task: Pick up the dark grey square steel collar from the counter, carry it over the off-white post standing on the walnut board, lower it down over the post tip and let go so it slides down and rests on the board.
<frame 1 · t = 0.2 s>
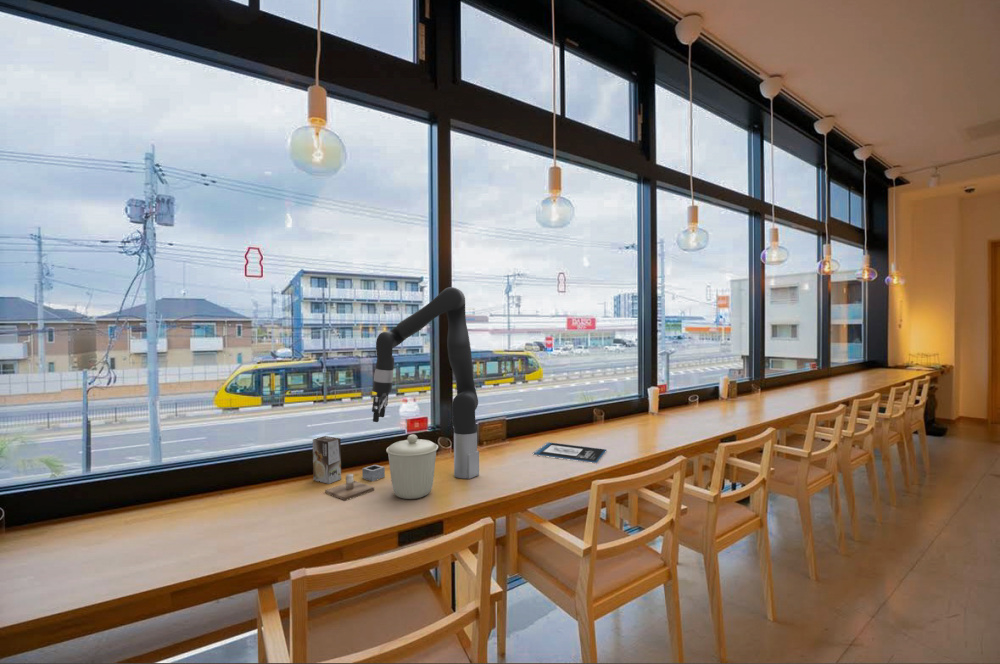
hand: (378, 419, 178), 22 cm above the table, tool pointing down, fingers open, 8 cm apart
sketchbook: (569, 454, 204), on the table
canister: (412, 494, 154), on the table
collar: (373, 477, 171), on the table
post stand: (349, 491, 156), on the table
coffee box: (327, 480, 169), on the table
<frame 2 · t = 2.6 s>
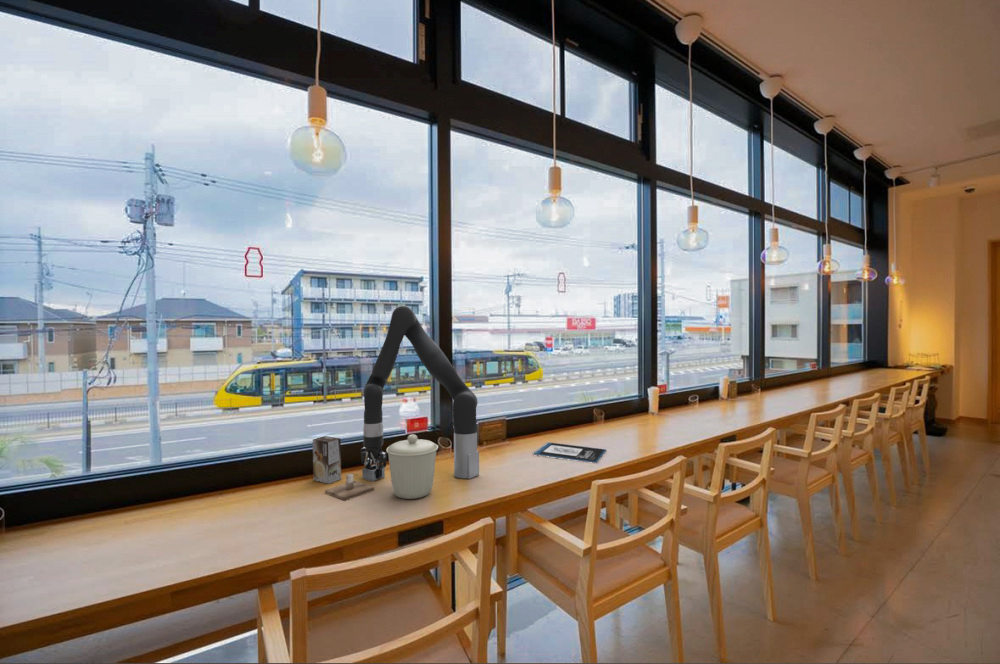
hand: (373, 476, 171), 1 cm above the table, tool pointing down, fingers closed on collar, 6 cm apart
collar: (373, 477, 171), on the table, touching gripper
everything else where it was.
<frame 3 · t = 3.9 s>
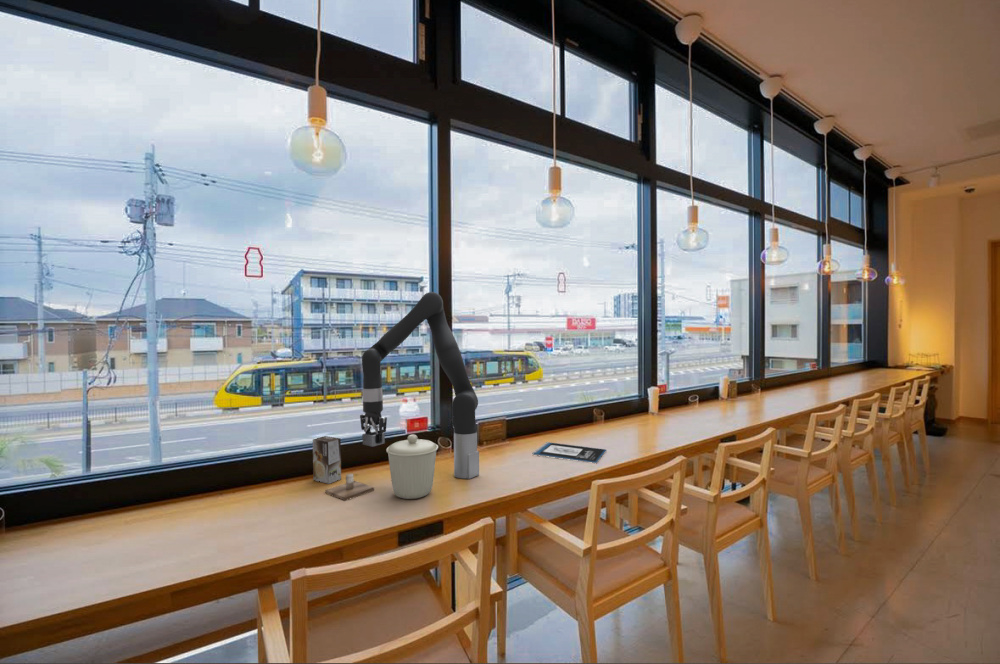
hand: (373, 442, 170), 14 cm above the table, tool pointing down, fingers closed on collar, 6 cm apart
collar: (373, 443, 170), point 14 cm above the table, touching gripper
everything else where it was.
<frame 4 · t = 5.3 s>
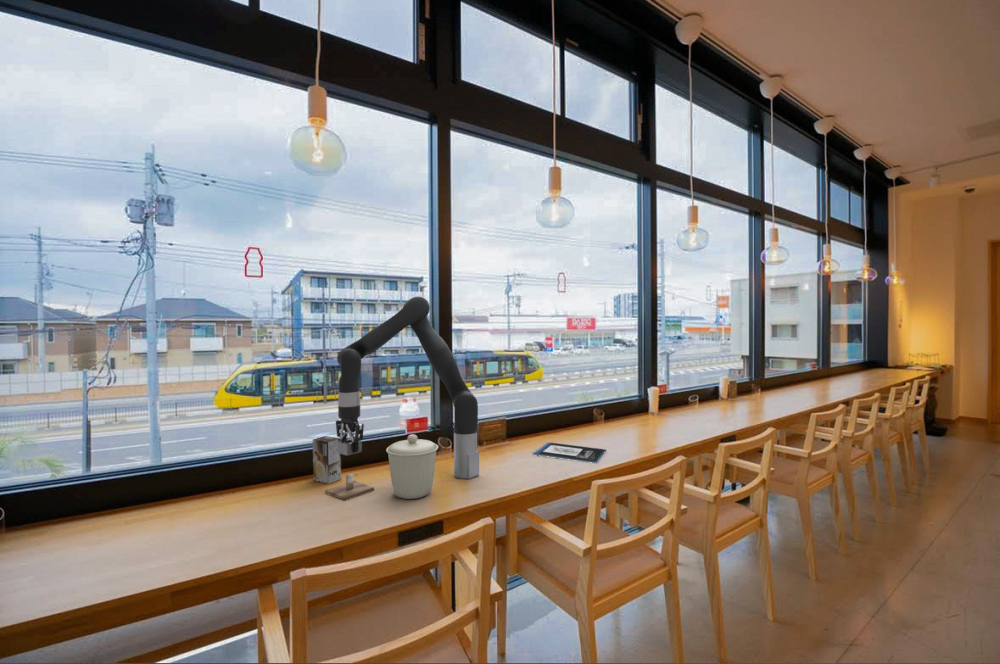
hand: (349, 450, 156), 15 cm above the table, tool pointing down, fingers closed on collar, 6 cm apart
collar: (349, 452, 156), point 14 cm above the table, touching gripper
everything else where it was.
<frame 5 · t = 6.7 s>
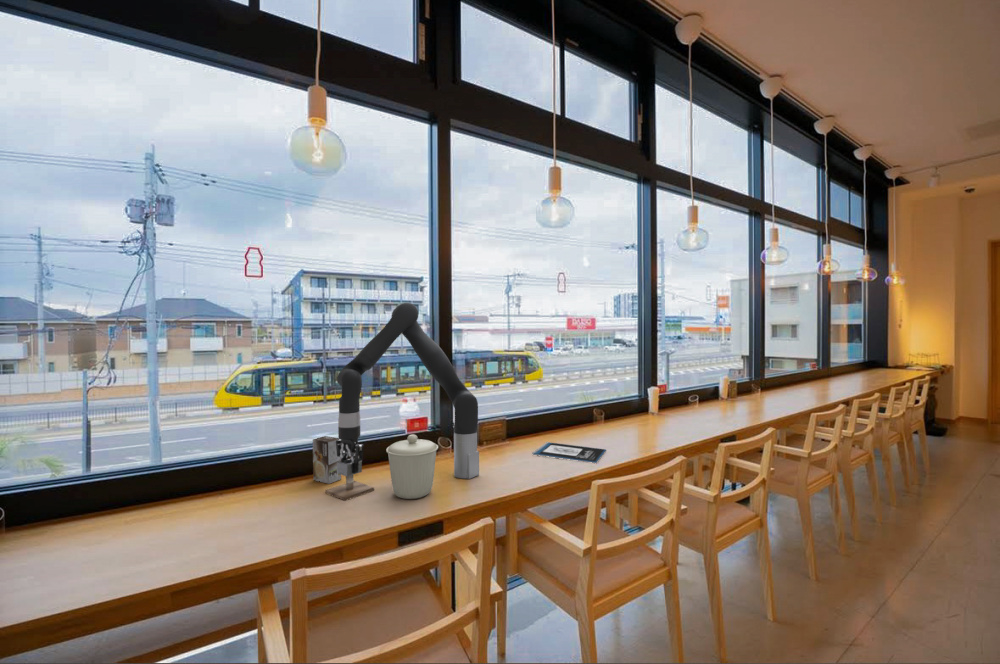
hand: (349, 470, 156), 7 cm above the table, tool pointing down, fingers closed on collar, 6 cm apart
collar: (349, 472, 156), point 7 cm above the table, touching gripper
everything else where it was.
when the fingers open (5 cm above the table, at t = 8.0 s): collar drops 3 cm, resting on post stand.
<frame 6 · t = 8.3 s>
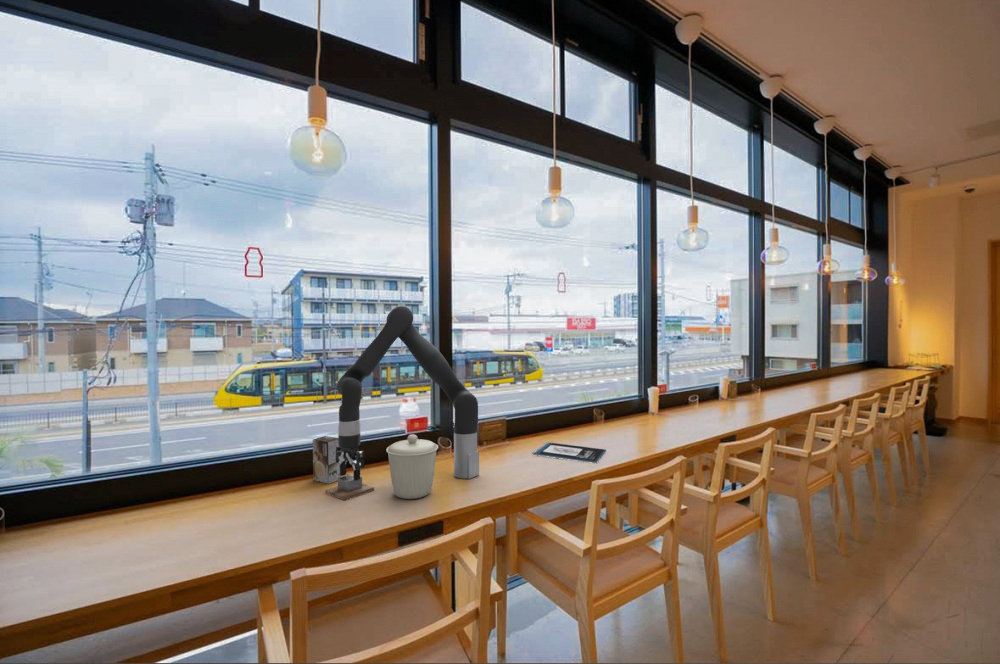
hand: (349, 477, 156), 5 cm above the table, tool pointing down, fingers open, 8 cm apart
collar: (350, 488, 156), point 1 cm above the table, touching post stand
everything else where it was.
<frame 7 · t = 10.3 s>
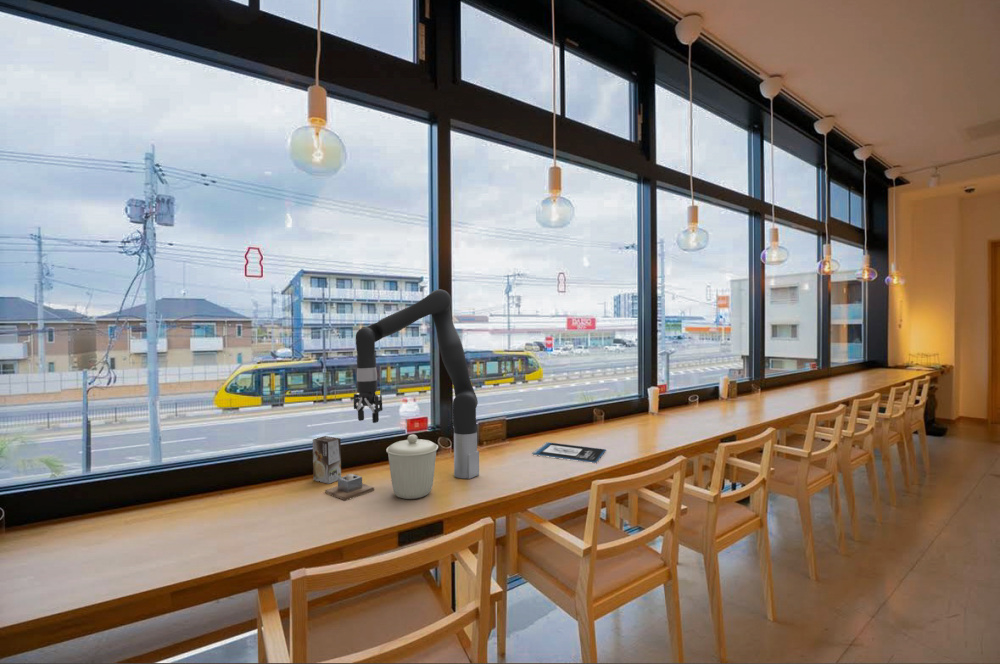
hand: (368, 421, 167), 23 cm above the table, tool pointing down, fingers open, 8 cm apart
nothing on the table moved.
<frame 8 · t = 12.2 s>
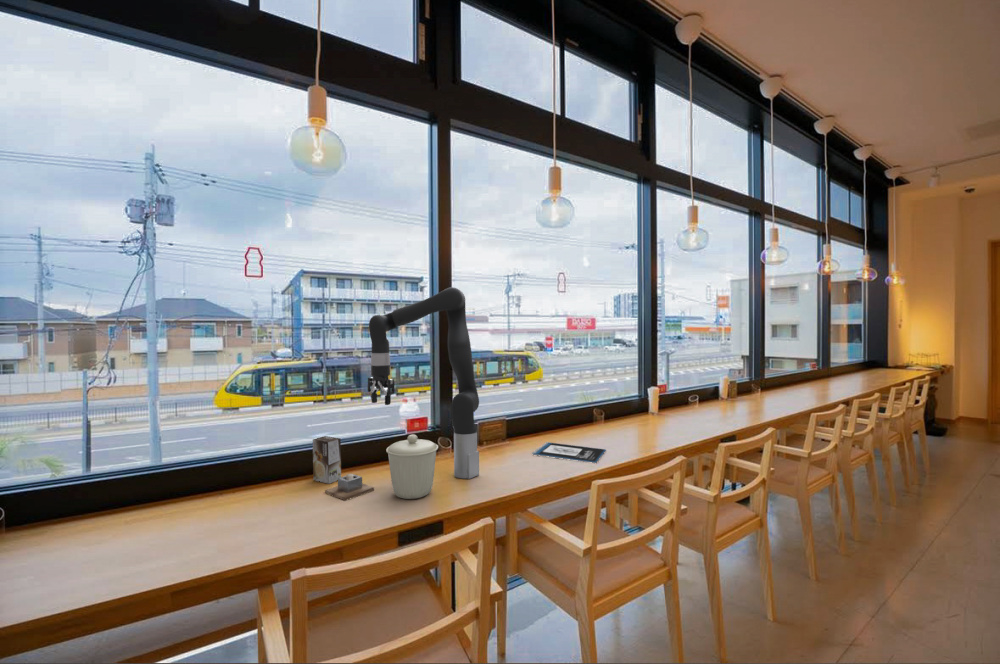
hand: (380, 403, 177), 28 cm above the table, tool pointing down, fingers open, 8 cm apart
nothing on the table moved.
at the end: collar 0.1 cm off-centre on the post stand, point 1.0 cm above the post stand's base; the gripper is holding nothing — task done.
